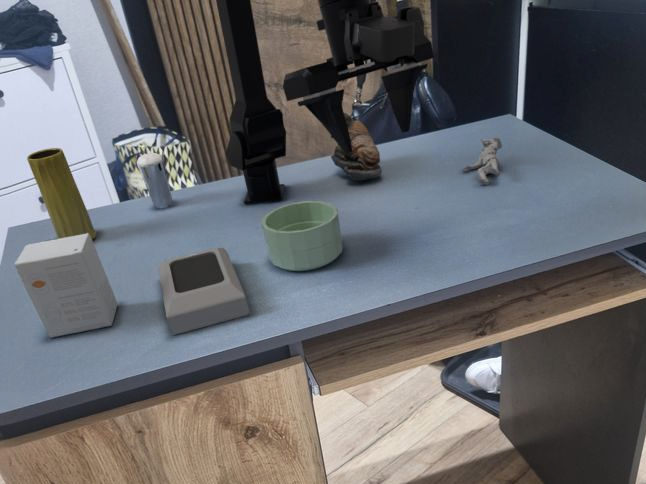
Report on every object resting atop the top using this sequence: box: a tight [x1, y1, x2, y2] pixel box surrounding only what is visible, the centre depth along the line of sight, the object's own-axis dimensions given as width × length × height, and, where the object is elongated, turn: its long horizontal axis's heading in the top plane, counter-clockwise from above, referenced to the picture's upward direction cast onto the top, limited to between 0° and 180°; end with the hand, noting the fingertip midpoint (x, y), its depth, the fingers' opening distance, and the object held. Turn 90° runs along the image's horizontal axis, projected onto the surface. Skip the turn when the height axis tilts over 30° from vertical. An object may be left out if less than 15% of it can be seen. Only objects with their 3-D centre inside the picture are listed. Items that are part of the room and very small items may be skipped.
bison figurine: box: [330, 112, 383, 182], centre depth 111 cm, size 12×7×10 cm, turn 28°
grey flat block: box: [157, 247, 251, 336], centre depth 82 cm, size 10×4×15 cm
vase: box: [26, 147, 98, 241], centre depth 101 cm, size 6×6×14 cm
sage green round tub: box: [261, 200, 343, 272], centre depth 88 cm, size 10×10×6 cm
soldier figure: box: [462, 136, 503, 186], centre depth 106 cm, size 8×5×12 cm
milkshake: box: [136, 147, 174, 210], centre depth 110 cm, size 4×5×10 cm
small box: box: [13, 233, 119, 338], centre depth 79 cm, size 8×6×10 cm
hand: (378, 142), depth 78 cm, fingers open, 9 cm apart
